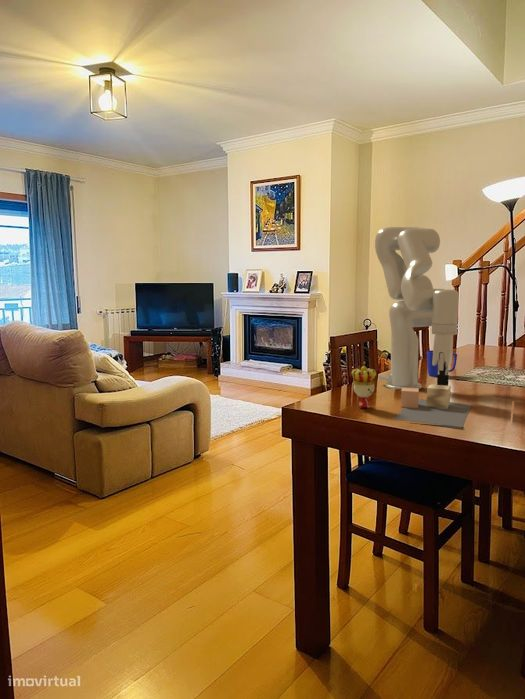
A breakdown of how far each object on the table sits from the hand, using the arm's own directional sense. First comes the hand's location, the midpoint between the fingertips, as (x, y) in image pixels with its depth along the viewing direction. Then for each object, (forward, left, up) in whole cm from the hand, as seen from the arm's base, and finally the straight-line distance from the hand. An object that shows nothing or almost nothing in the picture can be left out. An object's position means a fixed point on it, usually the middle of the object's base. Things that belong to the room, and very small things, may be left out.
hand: (442, 387), depth 161 cm
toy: (-20, -19, -6) cm, 28 cm away
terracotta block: (-8, -10, -5) cm, 14 cm away
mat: (0, -14, -5) cm, 15 cm away
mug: (-7, +50, -6) cm, 51 cm away
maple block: (0, -7, -5) cm, 8 cm away
